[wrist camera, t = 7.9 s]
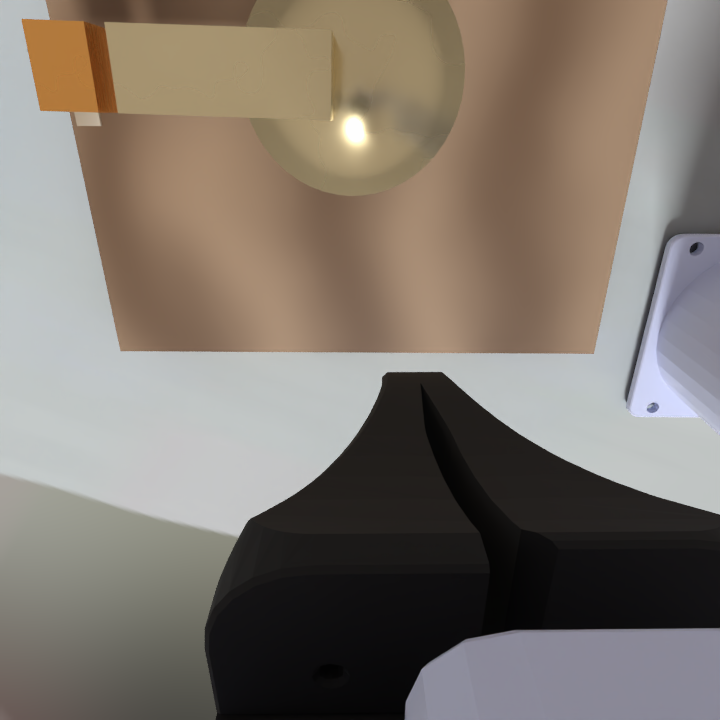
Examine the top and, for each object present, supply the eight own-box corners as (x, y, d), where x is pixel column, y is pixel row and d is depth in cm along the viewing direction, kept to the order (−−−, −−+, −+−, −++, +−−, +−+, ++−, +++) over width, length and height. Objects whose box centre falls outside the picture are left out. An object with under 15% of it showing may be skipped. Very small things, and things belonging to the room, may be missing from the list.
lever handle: (469, -43, 14) (487, -70, 12) (446, 193, 16) (457, 205, 14) (53, -57, 14) (0, -86, 12) (94, 181, 16) (57, 191, 14)
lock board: (705, -308, 14) (802, -430, 11) (580, 339, 22) (615, 376, 19) (9, -301, 14) (-92, -418, 11) (135, 336, 23) (97, 373, 19)
